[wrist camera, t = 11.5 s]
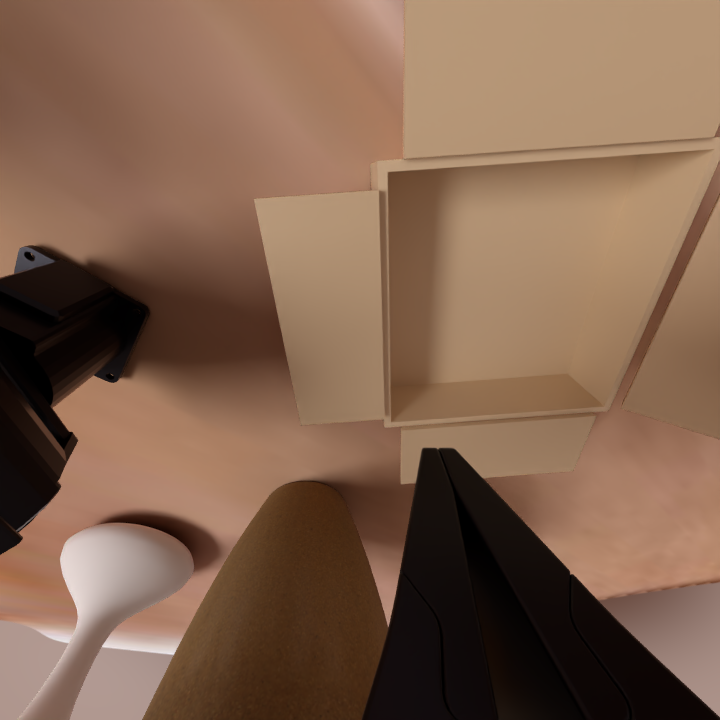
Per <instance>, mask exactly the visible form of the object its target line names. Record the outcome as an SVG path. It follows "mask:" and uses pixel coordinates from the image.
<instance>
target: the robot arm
mask: <svg viewBox="0 0 720 720" xmlns="http://www.w3.org/2000/svg"><path fill="white" fill-rule="evenodd" d="M31 253H32V254H33V255H34V256H35V258H33V257H32V255H31ZM136 309H138V310H139V311H140V312H141V314H139V313H138V312H137V311H136ZM148 316H149V309H148V308H147V306H145V305H144V304H143V303H141V302H139V301H137V300H135V299H133V298H131V297H130V296H128V295H126V294H124V293H122V292H120V291H118V290H117V289H115V288H113V287H111V285H109V284H107V283H105V282H104V281H102V280H100V279H98V278H96V277H94V276H92V275H91V274H89V273H87V272H85V271H83V270H81V269H80V268H78V267H76V266H74V265H72V264H70V263H68V262H67V261H64V260H61V259H59V258H57V257H55V256H53V255H51V254H50V253H48V252H46V251H44V250H42V249H40V248H38V247H36V246H33V245H29V246H25V247H22V248H20V249H19V252H18V257H17V261H16V266H15V271H14V274H12V275H8V276H5V277H1V278H0V555H1V554H2V553H4V552H6V551H7V550H9V549H11V548H12V547H14V546H16V545H17V544H19V543H20V542H21V540H22V539H23V537H22V536H21V535H20V534H19V533H18V532H20V531H21V530H22V529H23V528H24V527H25V526H26V525H28V524H29V523H30V522H31V521H32V520H33V519H34V518H35V517H36V516H37V514H38V513H39V512H41V511H42V510H43V509H44V508H45V507H46V506H47V505H48V504H49V502H50V501H51V500H52V499H53V498H54V497H55V495H56V494H57V493H58V491H59V490H60V488H61V485H60V483H59V482H58V480H59V479H60V477H61V474H62V472H63V470H64V467H65V465H66V463H67V461H68V459H69V457H70V455H71V454H72V452H73V450H74V448H75V446H76V444H77V442H78V439H77V438H76V436H75V435H74V434H73V432H69V431H68V429H67V428H66V427H65V425H64V424H63V423H62V421H61V420H60V418H59V417H58V416H57V414H56V413H55V411H54V410H53V409H52V408H53V407H54V406H56V405H57V404H58V403H59V402H61V401H62V400H63V399H64V398H66V397H67V396H68V395H69V394H71V393H72V392H73V391H74V390H76V389H77V388H78V387H79V386H81V385H82V384H83V383H85V382H86V381H87V380H88V379H90V378H91V377H92V376H93V375H94V376H96V377H99V378H101V379H103V380H105V381H108V382H111V383H114V382H117V381H118V380H119V379H120V378H121V377H122V375H123V373H124V370H125V368H126V366H127V364H128V361H129V359H130V357H131V355H132V352H133V350H134V348H135V345H136V343H137V341H138V339H139V336H140V334H141V332H142V330H143V327H144V325H145V323H146V321H147V318H148ZM111 374H112V375H113V376H112V375H111ZM361 720H720V717H719V716H718V715H717V714H716V713H715V712H714V711H712V710H711V709H710V708H709V707H708V706H707V705H706V704H705V703H704V702H703V701H702V700H701V699H700V698H699V697H698V696H696V695H695V694H694V693H693V692H692V691H691V690H690V689H689V688H688V687H687V686H686V685H685V684H684V683H682V682H681V681H680V680H679V679H678V678H677V677H676V676H675V675H674V674H673V673H672V672H671V671H670V670H669V669H668V668H666V667H665V666H664V665H663V664H662V663H661V662H660V661H659V660H658V659H657V658H656V657H655V656H654V655H653V654H652V653H651V652H650V651H648V649H647V648H645V647H644V646H643V645H642V644H641V643H640V642H639V641H638V640H637V639H636V638H635V637H634V636H633V635H632V634H631V633H630V632H629V631H628V630H627V629H626V628H625V627H624V626H623V625H622V624H620V623H619V622H618V621H617V619H616V618H615V617H614V616H613V615H612V614H611V613H610V612H609V611H608V610H607V609H606V608H605V607H604V606H603V605H602V604H601V603H600V602H599V601H598V600H597V599H596V598H595V597H594V596H593V595H592V594H591V593H590V592H589V591H588V589H587V588H586V587H585V586H584V585H583V584H582V583H581V582H580V581H579V580H578V579H577V578H576V577H575V576H574V575H573V574H571V575H570V571H569V569H568V568H567V567H566V566H565V565H564V564H563V563H562V562H561V561H560V560H559V559H558V558H557V557H556V556H555V555H554V553H553V552H552V551H551V550H550V549H549V548H548V547H547V546H546V545H545V544H544V543H543V542H542V541H541V540H540V539H539V538H538V536H537V535H536V534H535V533H534V532H533V531H532V530H531V529H530V528H529V527H528V526H527V525H526V524H525V523H524V522H523V520H522V519H521V518H520V517H519V516H518V515H517V514H516V513H515V512H514V511H513V510H512V509H511V508H510V507H509V506H508V504H507V503H506V502H505V501H504V500H503V499H502V498H501V497H500V496H499V495H498V494H497V493H496V492H495V491H494V490H493V489H492V487H491V486H490V485H489V484H488V483H487V482H486V481H485V480H484V479H483V478H482V477H481V476H480V475H479V474H478V473H477V471H476V470H475V469H474V468H473V467H472V466H471V465H470V464H469V463H468V462H467V461H466V460H465V459H464V458H463V457H462V456H461V454H460V453H459V452H458V451H457V450H456V449H454V448H439V449H437V448H422V450H421V456H420V461H419V467H418V473H417V478H416V484H415V490H414V495H413V501H412V507H411V512H410V518H409V524H408V529H407V535H406V541H405V546H404V552H403V558H402V563H401V569H400V575H399V579H398V585H397V590H396V596H395V600H394V605H393V610H392V615H391V619H390V624H389V627H388V631H387V635H386V638H385V642H384V646H383V649H382V653H381V656H380V660H379V663H378V666H377V670H376V673H375V676H374V679H373V683H372V686H371V689H370V692H369V696H368V699H367V702H366V705H365V709H364V712H363V715H362V718H361Z"/></svg>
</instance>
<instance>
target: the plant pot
mask: <svg viewBox="0 0 720 720" xmlns="http://www.w3.org/2000/svg"><path fill="white" fill-rule="evenodd" d="M387 631H388V625H387V622H386V618H385V614H384V610H383V607H382V603H381V600H380V596H379V593H378V590H377V586H376V583H375V580H374V577H373V574H372V571H371V567H370V564H369V561H368V558H367V556H366V553H365V550H364V547H363V544H362V542H361V539H360V536H359V534H358V531H357V529H356V526H355V524H354V521H353V519H352V517H351V514H350V512H349V510H348V507H347V505H346V503H345V501H344V499H343V497H342V496H341V495H340V494H339V493H338V492H337V491H336V490H335V489H333V488H331V487H329V486H327V485H325V484H321V483H317V482H311V481H301V482H294V483H289V484H286V485H283V486H281V487H279V488H278V489H276V490H275V491H274V492H273V493H272V494H271V495H270V496H269V497H268V499H267V500H266V501H265V503H264V504H263V505H262V507H261V508H260V510H259V511H258V512H257V514H256V515H255V517H254V518H253V519H252V521H251V522H250V524H249V525H248V527H247V528H246V530H245V531H244V533H243V534H242V536H241V537H240V539H239V540H238V542H237V544H236V545H235V547H234V548H233V550H232V551H231V553H230V555H229V556H228V558H227V560H226V561H225V563H224V565H223V566H222V568H221V570H220V571H219V573H218V575H217V577H216V578H215V580H214V582H213V583H212V585H211V587H210V589H209V590H208V592H207V594H206V596H205V598H204V599H203V601H202V603H201V605H200V607H199V608H198V610H197V612H196V614H195V616H194V618H193V620H192V622H191V623H190V625H189V627H188V629H187V631H186V633H185V635H184V637H183V639H182V641H181V642H180V644H179V646H178V648H177V650H176V652H175V654H174V656H173V658H172V660H171V662H170V664H169V666H168V668H167V670H166V673H165V675H164V677H163V679H162V681H161V683H160V685H159V687H158V688H157V691H156V693H155V695H154V697H153V699H152V701H151V703H150V705H149V707H148V709H147V711H146V713H145V715H144V717H143V719H142V720H361V718H362V715H363V712H364V709H365V705H366V702H367V699H368V696H369V692H370V689H371V686H372V683H373V679H374V676H375V673H376V670H377V666H378V663H379V660H380V656H381V653H382V649H383V646H384V642H385V638H386V635H387Z"/></svg>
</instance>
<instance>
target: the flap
mask: <svg viewBox="0 0 720 720" xmlns="http://www.w3.org/2000/svg"><path fill="white" fill-rule="evenodd" d="M621 409H624V410H627V411H630V412H633V413H637V414H640V415H643V416H646V417H650V418H653V419H656V420H659V421H662V422H666V423H669V424H672V425H675V426H678V427H682V428H685V429H688V430H691V431H694V432H698V433H701V434H704V435H707V436H711V437H714V438H717V439H720V194H719V196H718V199H717V201H716V203H715V205H714V207H713V209H712V211H711V214H710V216H709V218H708V220H707V222H706V224H705V227H704V229H703V231H702V233H701V235H700V237H699V239H698V242H697V244H696V246H695V248H694V250H693V252H692V255H691V257H690V259H689V261H688V263H687V265H686V267H685V270H684V272H683V274H682V276H681V278H680V280H679V283H678V285H677V287H676V289H675V291H674V293H673V295H672V298H671V300H670V302H669V304H668V306H667V308H666V311H665V313H664V315H663V317H662V319H661V321H660V324H659V326H658V328H657V330H656V332H655V334H654V336H653V339H652V341H651V343H650V345H649V347H648V349H647V352H646V354H645V356H644V358H643V360H642V362H641V364H640V367H639V369H638V371H637V373H636V375H635V377H634V380H633V382H632V384H631V386H630V388H629V390H628V392H627V395H626V397H625V399H624V401H623V403H622V407H621Z"/></svg>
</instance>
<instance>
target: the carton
mask: <svg viewBox="0 0 720 720" xmlns="http://www.w3.org/2000/svg"><path fill="white" fill-rule="evenodd" d="M719 124H720V0H404V73H403V159H397V160H383V161H376V162H374V163H371V164H370V175H371V190H368V191H354V192H340V193H326V194H312V195H297V196H283V197H269V198H255V199H254V203H255V207H256V212H257V217H258V222H259V227H260V231H261V236H262V241H263V246H264V251H265V256H266V260H267V265H268V270H269V275H270V280H271V284H272V289H273V294H274V299H275V304H276V309H277V313H278V318H279V323H280V328H281V333H282V337H283V342H284V347H285V352H286V357H287V362H288V366H289V371H290V376H291V381H292V386H293V390H294V395H295V400H296V405H297V410H298V415H299V419H300V424H301V425H315V424H328V423H342V422H355V421H368V420H382V419H383V422H384V428H389V427H401V449H400V482H401V484H412V483H416V478H417V473H418V467H419V461H420V456H421V450H422V448H437V449H439V448H454V449H456V450H457V451H458V452H459V453H460V454H461V456H462V457H463V458H464V459H465V460H466V461H467V462H468V463H469V464H470V465H471V466H472V467H473V468H474V469H475V470H476V471H477V473H478V474H479V475H480V476H481V477H482V478H492V477H505V476H518V475H531V474H544V473H558V472H571V471H574V468H575V466H576V464H577V461H578V459H579V456H580V454H581V452H582V449H583V447H584V445H585V442H586V440H587V437H588V435H589V433H590V430H591V428H592V426H593V423H594V421H595V418H596V415H595V414H594V413H589V412H603V411H609V409H610V407H611V405H612V402H613V400H614V398H615V396H616V393H617V391H618V389H619V386H620V384H621V382H622V380H623V377H624V375H625V373H626V371H627V368H628V366H629V364H630V362H631V359H632V357H633V355H634V353H635V350H636V348H637V346H638V344H639V341H640V339H641V337H642V335H643V332H644V330H645V328H646V325H647V323H648V321H649V319H650V316H651V314H652V312H653V310H654V307H655V305H656V303H657V301H658V298H659V296H660V294H661V292H662V289H663V287H664V285H665V283H666V280H667V278H668V276H669V274H670V271H671V269H672V267H673V264H674V262H675V260H676V258H677V255H678V253H679V251H680V249H681V246H682V244H683V242H684V240H685V237H686V235H687V233H688V231H689V228H690V226H691V224H692V222H693V219H694V217H695V215H696V213H697V210H698V208H699V206H700V203H701V201H702V199H703V197H704V194H705V192H706V190H707V188H708V185H709V183H710V181H711V179H712V176H713V174H714V172H715V170H716V167H717V165H718V163H719V161H720V137H714V136H715V134H716V132H717V129H718V127H719ZM710 137H713V138H710ZM683 139H684V140H683ZM669 140H670V141H669ZM640 142H641V143H640ZM626 143H627V144H626ZM597 145H598V146H597ZM583 146H584V147H583ZM554 148H555V149H554ZM525 150H526V151H525ZM511 151H512V152H511ZM482 153H483V154H482ZM468 154H469V155H468ZM439 156H440V157H439ZM425 157H426V158H425ZM576 413H584V414H576ZM563 414H570V415H563ZM549 415H557V416H549ZM536 416H543V417H536ZM522 417H530V418H522ZM509 418H517V419H509ZM496 419H503V420H496ZM482 420H490V421H482ZM469 421H476V422H469ZM455 422H463V423H455ZM442 423H450V424H442ZM429 424H436V425H429ZM415 425H423V426H415ZM402 426H409V427H402Z"/></svg>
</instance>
